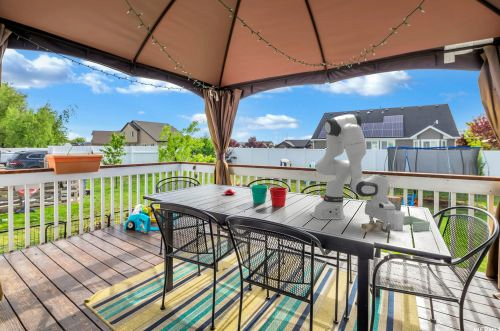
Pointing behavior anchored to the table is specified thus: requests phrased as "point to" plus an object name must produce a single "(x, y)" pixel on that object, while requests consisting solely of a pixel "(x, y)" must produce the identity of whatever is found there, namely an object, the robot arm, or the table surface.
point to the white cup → (398, 221)
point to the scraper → (374, 227)
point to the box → (417, 223)
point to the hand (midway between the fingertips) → (377, 226)
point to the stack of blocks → (394, 202)
